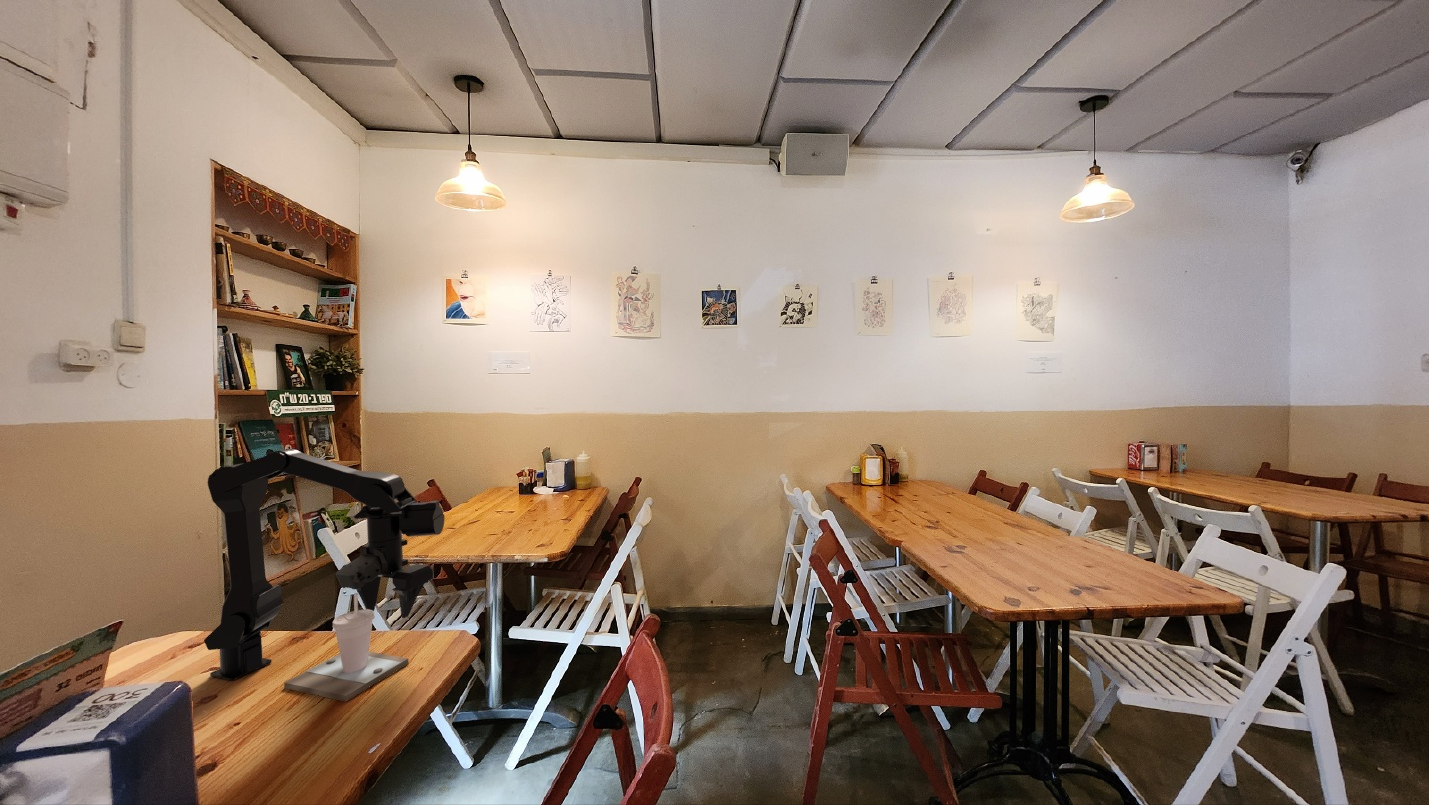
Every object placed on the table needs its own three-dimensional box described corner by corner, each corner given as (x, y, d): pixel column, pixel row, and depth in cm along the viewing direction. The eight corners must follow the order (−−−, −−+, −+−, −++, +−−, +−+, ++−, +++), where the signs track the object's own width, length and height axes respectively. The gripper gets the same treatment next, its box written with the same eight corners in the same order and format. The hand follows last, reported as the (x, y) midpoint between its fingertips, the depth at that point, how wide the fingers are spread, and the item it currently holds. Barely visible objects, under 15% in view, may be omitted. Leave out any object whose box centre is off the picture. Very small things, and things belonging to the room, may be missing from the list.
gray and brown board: (284, 688, 87) (284, 680, 87) (351, 653, 98) (351, 647, 98) (345, 701, 82) (345, 694, 82) (408, 663, 94) (408, 657, 94)
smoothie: (353, 678, 87) (351, 602, 87) (324, 675, 88) (322, 599, 88) (384, 659, 94) (382, 588, 93) (357, 656, 95) (354, 586, 95)
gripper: (308, 547, 92) (311, 628, 92) (381, 554, 87) (384, 640, 87) (365, 531, 103) (368, 603, 103) (434, 536, 97) (436, 613, 97)
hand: (387, 614), depth 97 cm, fingers open, 9 cm apart
